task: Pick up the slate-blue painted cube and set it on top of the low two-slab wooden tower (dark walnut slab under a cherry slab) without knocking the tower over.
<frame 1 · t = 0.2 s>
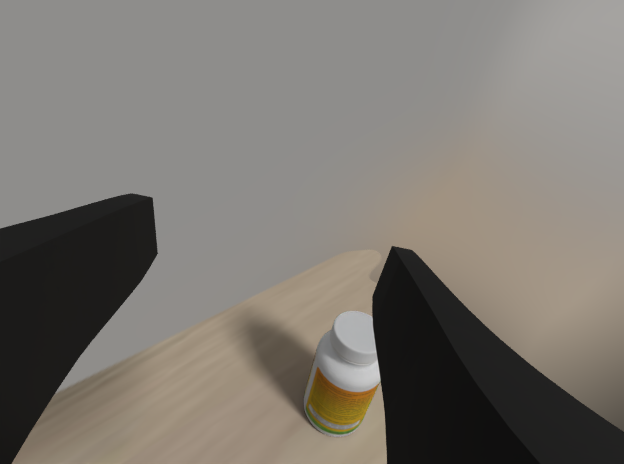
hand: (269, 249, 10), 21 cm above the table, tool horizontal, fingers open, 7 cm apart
supplement bottle: (332, 407, 28), on the table
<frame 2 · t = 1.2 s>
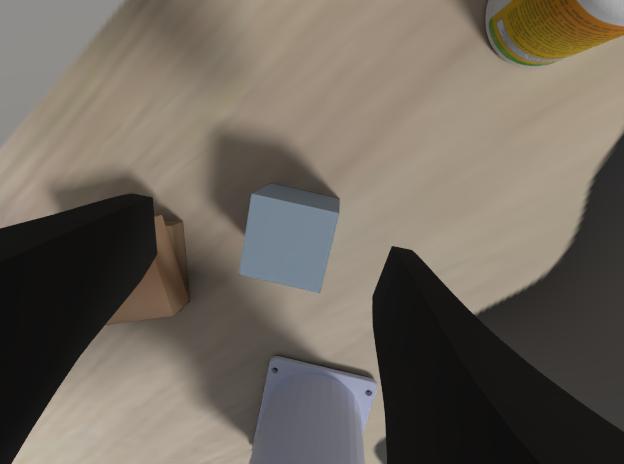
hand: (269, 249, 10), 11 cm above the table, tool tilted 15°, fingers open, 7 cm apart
tower mid: (134, 265, 21), point 1 cm above the table, touching tower base
supplement bottle: (534, 14, 17), on the table
tower base: (150, 257, 23), on the table, touching tower mid
cube: (298, 224, 21), on the table
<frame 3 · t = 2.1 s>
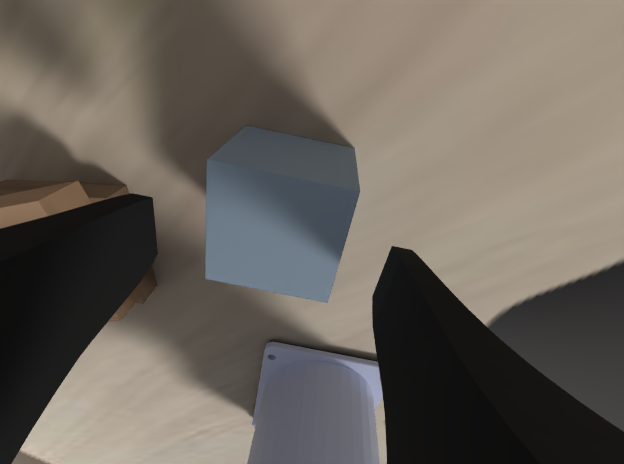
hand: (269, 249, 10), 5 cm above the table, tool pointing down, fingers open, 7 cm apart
tower mid: (60, 249, 15), point 1 cm above the table, touching tower base
tower base: (94, 231, 17), on the table, touching tower mid
cube: (292, 186, 14), on the table
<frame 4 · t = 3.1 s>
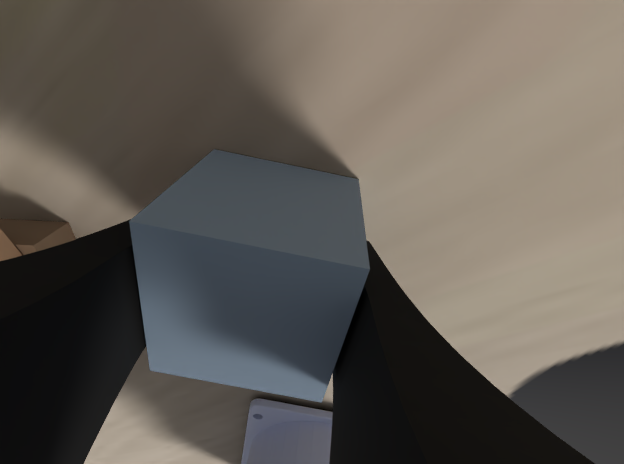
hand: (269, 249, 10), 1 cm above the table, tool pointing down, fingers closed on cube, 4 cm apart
tower base: (37, 273, 14), on the table, touching tower mid
cube: (277, 226, 11), on the table, touching gripper
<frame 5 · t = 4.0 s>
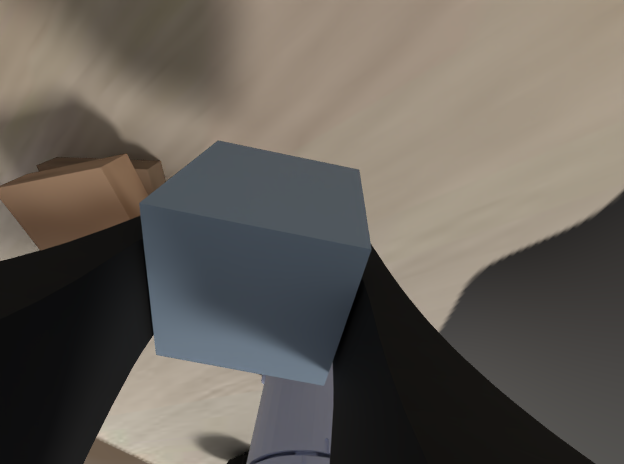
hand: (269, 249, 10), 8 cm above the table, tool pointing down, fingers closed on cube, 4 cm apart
tower mid: (106, 214, 18), point 1 cm above the table, touching tower base
tower base: (130, 202, 20), on the table, touching tower mid
cube: (279, 217, 11), point 6 cm above the table, touching gripper
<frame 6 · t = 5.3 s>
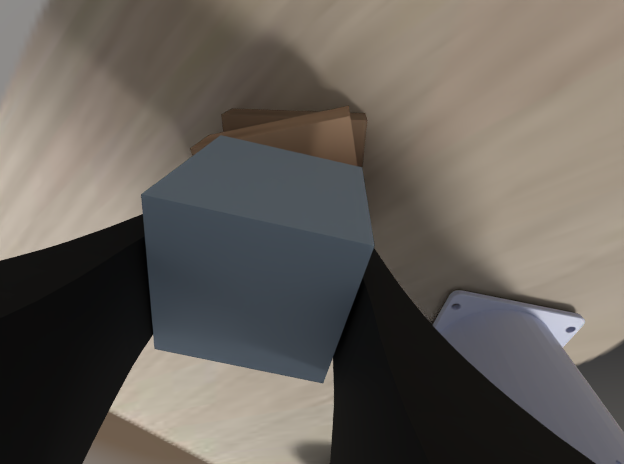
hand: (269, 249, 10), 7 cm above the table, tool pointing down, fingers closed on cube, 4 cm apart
tower mid: (293, 187, 14), point 1 cm above the table, touching tower base
tower base: (299, 170, 16), on the table, touching tower mid
cube: (281, 213, 11), point 5 cm above the table, touching gripper
when the fingers open (7 cm above the table, at t = 5.8 s): cube drops 1 cm, point 3 cm above the table.
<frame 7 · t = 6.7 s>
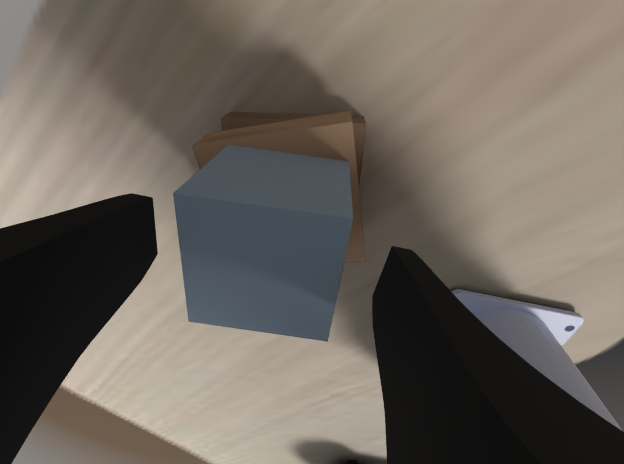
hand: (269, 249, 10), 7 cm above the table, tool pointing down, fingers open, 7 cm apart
tower mid: (292, 188, 15), point 1 cm above the table, touching tower base
tower base: (298, 172, 16), on the table, touching tower mid
cube: (284, 207, 13), point 3 cm above the table
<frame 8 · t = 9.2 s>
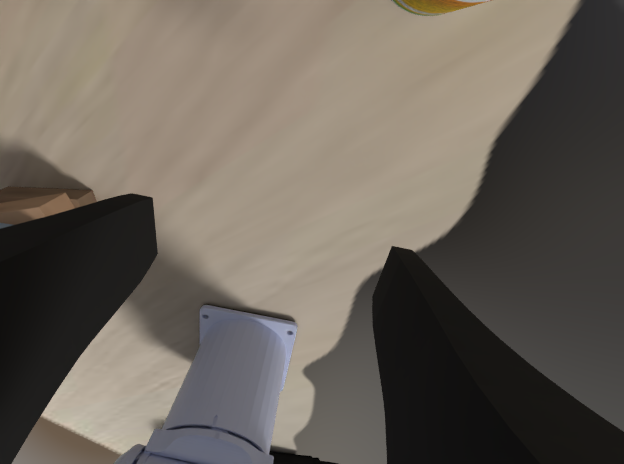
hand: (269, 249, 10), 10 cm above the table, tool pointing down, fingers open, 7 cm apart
tower mid: (53, 238, 22), point 1 cm above the table, touching cube, tower base
microphone: (261, 450, 39), on the table
tower base: (73, 222, 23), on the table, touching tower mid
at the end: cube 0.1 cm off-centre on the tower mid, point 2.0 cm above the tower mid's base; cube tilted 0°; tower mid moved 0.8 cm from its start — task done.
